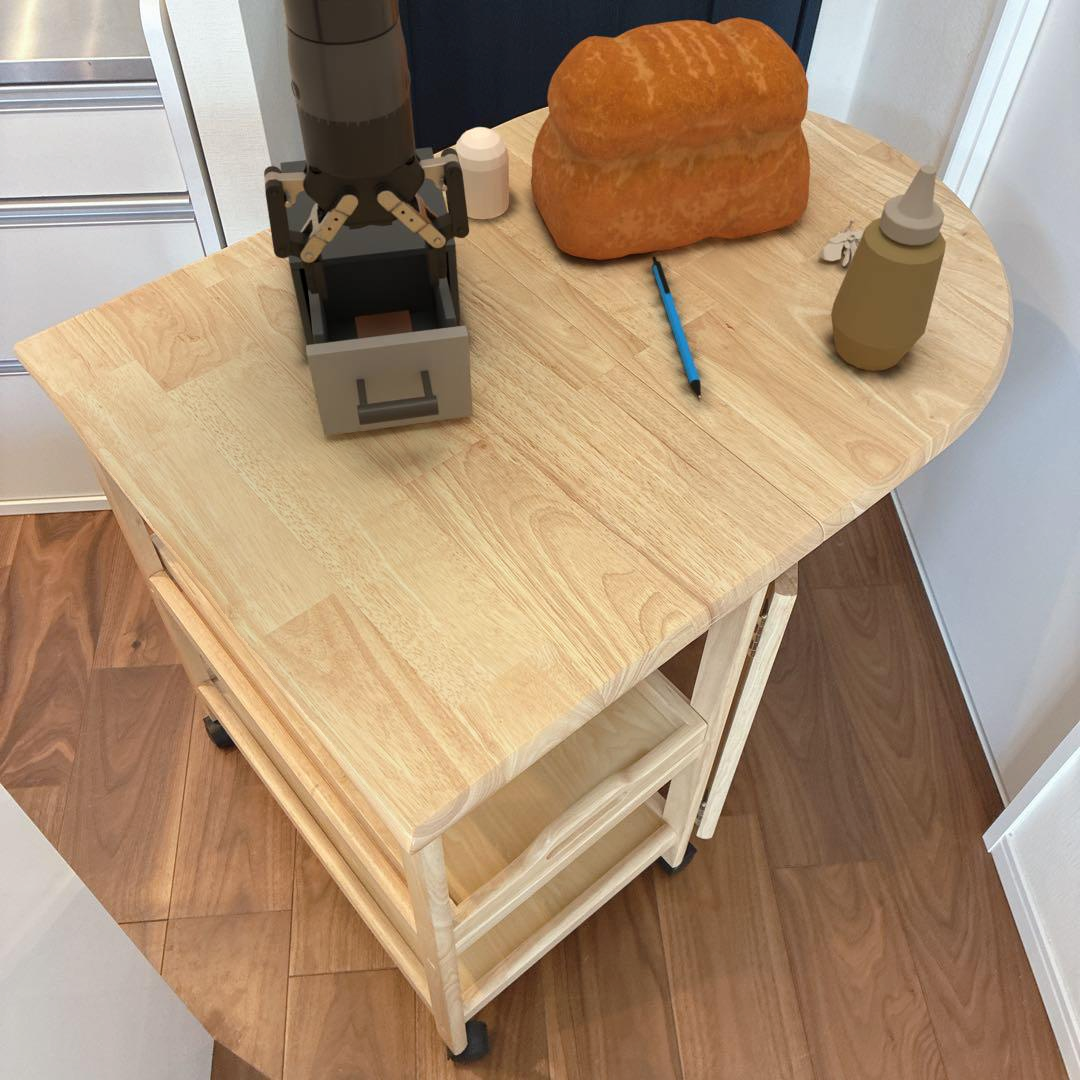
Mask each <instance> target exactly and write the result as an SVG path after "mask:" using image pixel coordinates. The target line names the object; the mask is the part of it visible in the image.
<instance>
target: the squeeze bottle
mask: <svg viewBox="0 0 1080 1080" xmlns="http://www.w3.org/2000/svg"><path fill="white" fill-rule="evenodd" d="M936 175H937V168H936V167H935V166H933V165H930V164H923V165H922V166H920V167H919V170H918V171H917V173H916V174H915V176H914V177H913V179H912V181H911V183H910V185H909V186H908V188H907V190H906V191H905V192H904V194H899V195H896V196H893V197H891V198H889V199H888V200H887V201H886V202H884V205H883V209H882V212H881V216H880V217H879V218H875V219H874V220H872V221H871V222H870V223H869V224H868V225H867V226H866V227H864V231H863V232H864V233H863V235H862V237H861V240H860V242H859V243H858V247H857V249H856V252H855V254H854V256H853V259H852V261H851V260H850V263H849V265H848V268H847V270H846V273H845V275H844V277H843V280H842V282H841V284H840V287H839V290H838V291H837V294H836V296H835V298H834V301H833V303H832V308H831V313H830V316H831V324H832V332H833V333H832V334H833V341H834V342H833V343H834V347H835V349H836V352H837V355H838V356H839V357H840V358H841V359H843V360H844V362H846V363H847V364H849V365H851V366H853V367H855V368H857V369H861V370H867V371H871V372H873V371H874V372H875V371H886V370H887V369H891V368H893V367H895V366H896V365H897V364H898V363H899V362H900V361H901V360H902V358H904V356H905V355H906V354H907V353H908V352H909V351H910V350H911V349H912V347H913V346H914V345H916V343H917V342H918V341H919V340H920V339H921V338H922V337H923V336H924V334H925V333H926V330H927V324H928V321H929V317H930V313H931V310H932V306H933V301H934V297H935V293H936V290H937V289H936V288H937V284H938V281H939V276H940V272H941V269H942V266H943V265H942V264H943V261H944V256H945V252H946V246H947V242H946V239H945V238H944V236H943V234H942V232H941V228H942V226H943V223H944V219H945V213H944V211H943V209H942V207H941V205H939V204H938V203H936V202H935V201H934V197H935V187H936V177H937V176H936Z"/></svg>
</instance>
